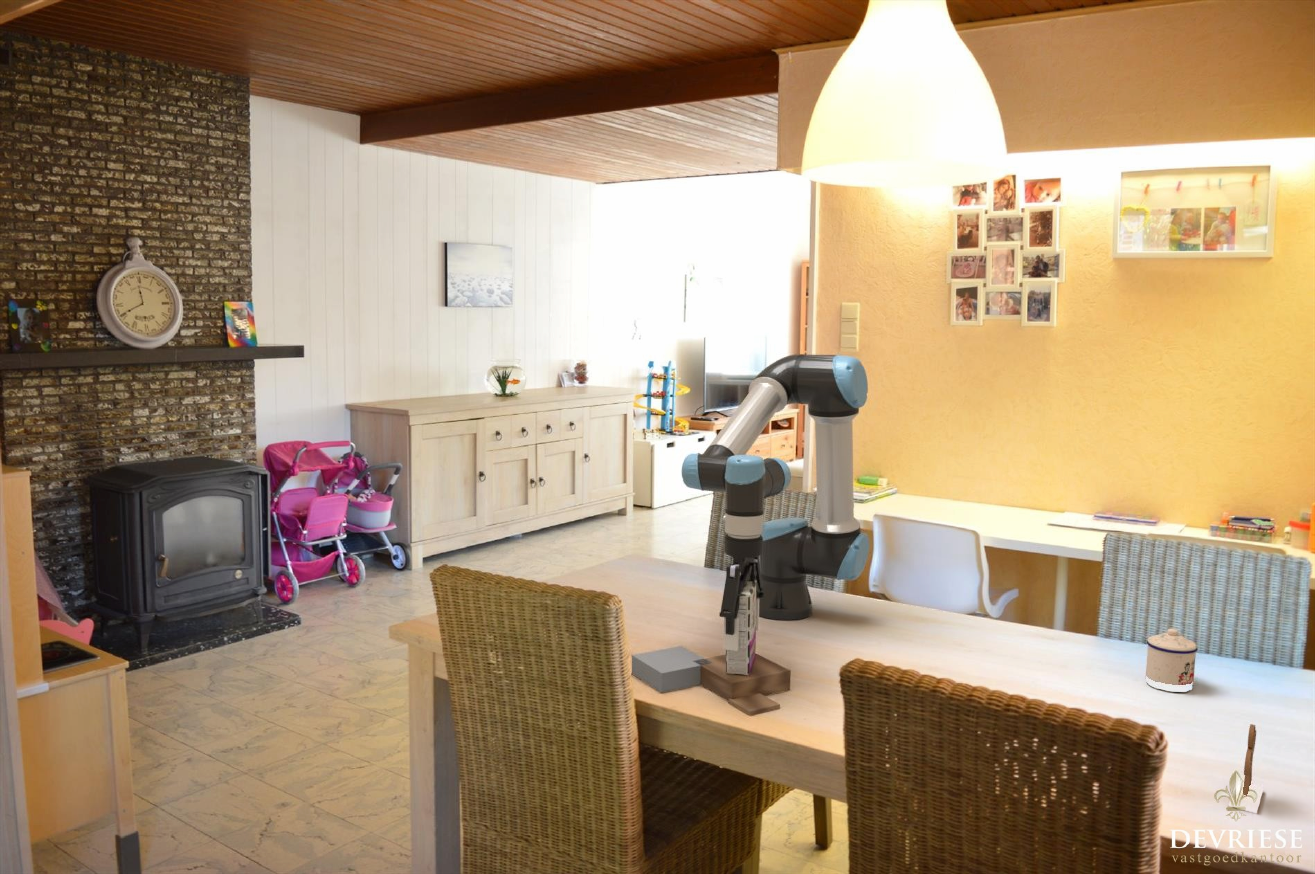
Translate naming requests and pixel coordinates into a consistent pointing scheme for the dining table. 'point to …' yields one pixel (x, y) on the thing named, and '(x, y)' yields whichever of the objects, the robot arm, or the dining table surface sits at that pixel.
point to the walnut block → (744, 678)
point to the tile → (754, 704)
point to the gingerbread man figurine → (1249, 759)
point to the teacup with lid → (1171, 658)
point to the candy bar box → (744, 634)
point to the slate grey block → (668, 668)
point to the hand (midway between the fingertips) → (741, 639)
